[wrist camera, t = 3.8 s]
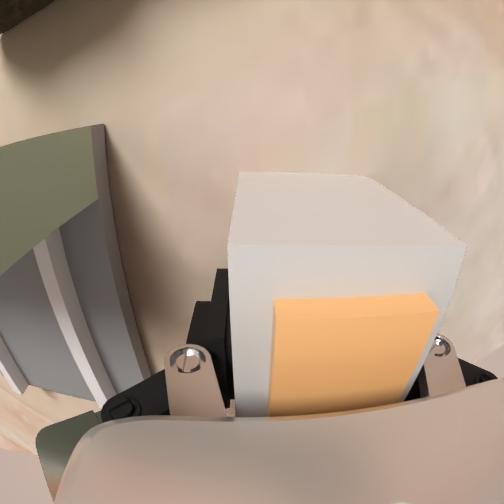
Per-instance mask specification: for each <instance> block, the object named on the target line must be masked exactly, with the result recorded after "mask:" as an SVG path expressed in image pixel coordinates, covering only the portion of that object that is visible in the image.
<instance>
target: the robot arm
mask: <svg viewBox="0 0 504 504" xmlns="http://www.w3.org/2000/svg"><path fill="white" fill-rule="evenodd" d="M164 365H165V369H164V370H162V371H160V372H158V373H156V374H155V375H153V376H151V377H149V378H147V379H145V380H143V381H142V382H140V383H138V384H136V385H134V386H132V387H130V388H128V389H127V390H125V391H123V392H121V393H119V394H117V395H115V396H113V397H111V398H110V399H109V400H107V401H106V402H105V404H104V405H103V407H102V409H101V411H99V412H96V413H94V412H93V410H92V411H89V412H86V413H84V414H81V415H78V416H75V417H73V418H70V419H67V420H64V421H61V422H58V423H55V424H53V425H50V426H47V427H45V428H43V429H41V431H40V432H39V433H38V434H37V437H36V448H37V452H38V456H39V459H40V463H41V466H42V469H43V473H44V476H45V479H46V482H47V485H48V488H49V491H50V494H51V496H52V499H53V502H54V504H504V378H500V379H498V378H497V377H496V376H495V375H494V374H492V373H491V372H489V371H486V370H484V369H482V368H479V367H477V366H475V365H473V364H470V363H468V362H466V361H464V360H461V359H459V358H457V355H456V351H455V348H454V346H453V344H452V342H451V341H450V340H449V339H448V338H446V337H445V336H443V335H440V334H437V335H436V337H435V340H434V342H433V344H432V346H431V349H430V351H429V353H428V355H427V357H426V359H425V361H424V364H423V366H422V368H421V370H420V372H419V374H418V376H417V378H416V380H415V381H414V383H413V385H412V387H411V389H410V391H409V393H408V395H407V396H406V398H405V400H404V402H400V403H394V404H389V405H383V406H377V407H371V408H364V409H357V410H350V411H342V412H333V413H323V414H311V415H298V416H279V417H228V416H227V413H226V410H225V409H226V408H230V399H235V394H234V378H233V361H232V342H231V323H230V301H229V277H228V269H217V273H216V278H215V283H214V289H213V294H212V300H211V301H197V302H196V304H195V308H194V313H193V317H192V321H191V325H190V329H189V333H188V337H187V342H186V344H184V345H180V346H177V347H175V348H173V349H172V350H170V351H169V352H168V353H167V355H166V357H165V361H164Z"/></svg>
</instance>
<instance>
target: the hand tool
mask: <svg viewBox="0 0 504 504" xmlns="http://www.w3.org/2000/svg"><path fill="white" fill-rule="evenodd" d="M52 1H53V0H0V34H1V33H3V32H5V31H7V30H9V29H11V28H12V27H14V26H15V25H16V24H18V23H19V22H21V21H22V20H24V19H25V18H27V17H29V16H30V15H32V14H34V13H35V12H37V11H39V10H40V9H42V8H43V7H44V6H46V5H48V4H49V3H51V2H52Z"/></svg>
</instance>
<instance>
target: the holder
mask: <svg viewBox="0 0 504 504" xmlns="http://www.w3.org/2000/svg"><path fill="white" fill-rule="evenodd" d="M466 249H467V246H466V245H465V244H464V243H462V242H461V241H460V240H459V239H457V238H456V237H455V236H453V235H452V234H451V233H450V232H448V231H447V230H446V229H444V228H443V227H442V226H440V225H439V224H438V223H436V222H435V221H434V220H432V219H431V218H429V217H428V216H427V215H425V214H424V213H422V212H421V211H420V210H418V209H417V208H415V207H414V206H412V205H411V204H410V203H408V202H407V201H405V200H404V199H402V198H401V197H399V196H398V195H396V194H395V193H393V192H392V191H390V190H389V189H387V188H386V187H384V186H382V185H381V184H379V183H378V182H376V181H375V180H373V179H371V178H370V177H368V176H359V175H343V174H325V173H299V172H239V178H238V183H237V189H236V195H235V201H234V207H233V213H232V219H231V225H230V231H229V238H228V244H227V251H228V277H229V301H230V323H231V342H232V361H233V378H234V394H235V409H236V417H279V416H298V415H311V414H323V413H333V412H342V411H350V410H357V409H364V408H371V407H377V406H383V405H389V404H394V403H400V402H404V400H405V398H406V396H407V395H408V393H409V391H410V389H411V387H412V385H413V383H414V381H415V380H416V378H417V376H418V374H419V372H420V370H421V368H422V366H423V364H424V361H425V359H426V357H427V355H428V353H429V351H430V349H431V346H432V344H433V342H434V340H435V337H436V335H437V333H438V330H439V328H440V325H441V323H442V320H443V318H444V315H445V313H446V310H447V308H448V305H449V302H450V300H451V297H452V294H453V291H454V288H455V285H456V282H457V279H458V276H459V273H460V270H461V266H462V263H463V260H464V256H465V253H466Z"/></svg>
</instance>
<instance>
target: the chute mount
mask: <svg viewBox="0 0 504 504" xmlns="http://www.w3.org/2000/svg"><path fill="white" fill-rule="evenodd" d="M0 372H1V374H2V375H3V376H4V377H5V378H6V380H7V381H8V383H9V384H10V386H11V387H12V389H13V390H14V392H15V393H18V394H21V395H23V393H24V392H25V390H26V388H27V386H28V385H32V386H35V387H39V388H42V389H46V390H49V391H53V392H57V393H61V394H65V395H69V396H73V397H77V398H82V399H87V400H91V401H96V402H97V403H98V405H99V407H100V409H102V407H103V405H104V404H105V402H106V401H107V400H109V399H110V398H111V397H113V396H115V395H117V394H119V393H121V392H123V391H125V390H127V389H128V388H130V387H132V386H134V385H136V384H138V383H140V382H142V381H143V380H145V379H147V378H149V377H151V376H152V375H151V372H150V369H149V366H148V363H147V359H146V356H145V353H144V349H143V346H142V343H141V339H140V336H139V332H138V328H137V325H136V321H135V317H134V313H133V309H132V305H131V301H130V297H129V293H128V289H127V284H126V280H125V275H124V270H123V266H122V261H121V256H120V250H119V245H118V239H117V234H116V228H115V222H114V215H113V209H112V202H111V194H110V186H109V178H108V169H107V158H106V147H105V133H104V124H100V125H93V126H88V127H82V128H76V129H71V130H66V131H61V132H57V133H52V134H48V135H43V136H39V137H35V138H31V139H27V140H23V141H19V142H16V143H12V144H9V145H5V146H2V147H0Z"/></svg>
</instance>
